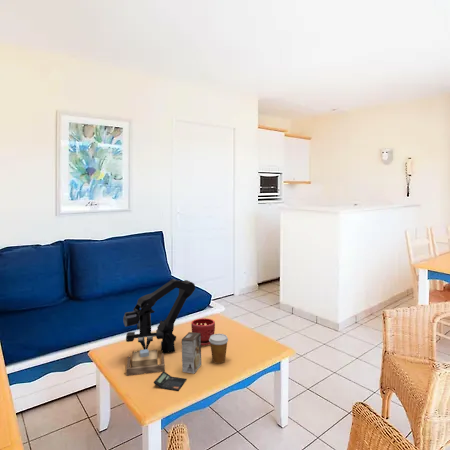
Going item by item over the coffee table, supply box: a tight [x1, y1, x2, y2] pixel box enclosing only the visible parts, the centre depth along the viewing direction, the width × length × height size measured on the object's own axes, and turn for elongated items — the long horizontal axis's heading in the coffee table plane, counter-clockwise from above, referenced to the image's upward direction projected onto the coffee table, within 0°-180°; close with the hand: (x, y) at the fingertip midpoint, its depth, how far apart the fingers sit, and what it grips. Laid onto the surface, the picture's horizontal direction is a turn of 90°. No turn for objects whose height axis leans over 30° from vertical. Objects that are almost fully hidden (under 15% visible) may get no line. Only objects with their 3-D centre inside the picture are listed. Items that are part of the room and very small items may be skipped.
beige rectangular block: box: [131, 349, 159, 368], centre depth 175 cm, size 12×10×4 cm
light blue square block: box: [139, 348, 149, 357], centre depth 175 cm, size 4×4×2 cm
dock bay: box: [125, 352, 166, 377], centre depth 170 cm, size 17×13×3 cm
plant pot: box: [190, 317, 216, 347], centre depth 197 cm, size 13×13×12 cm
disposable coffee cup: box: [209, 333, 229, 364], centre depth 176 cm, size 10×10×12 cm
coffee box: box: [181, 331, 202, 374], centre depth 168 cm, size 9×6×16 cm
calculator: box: [153, 370, 188, 392], centre depth 155 cm, size 9×12×3 cm
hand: (145, 351), depth 181 cm, fingers closed
